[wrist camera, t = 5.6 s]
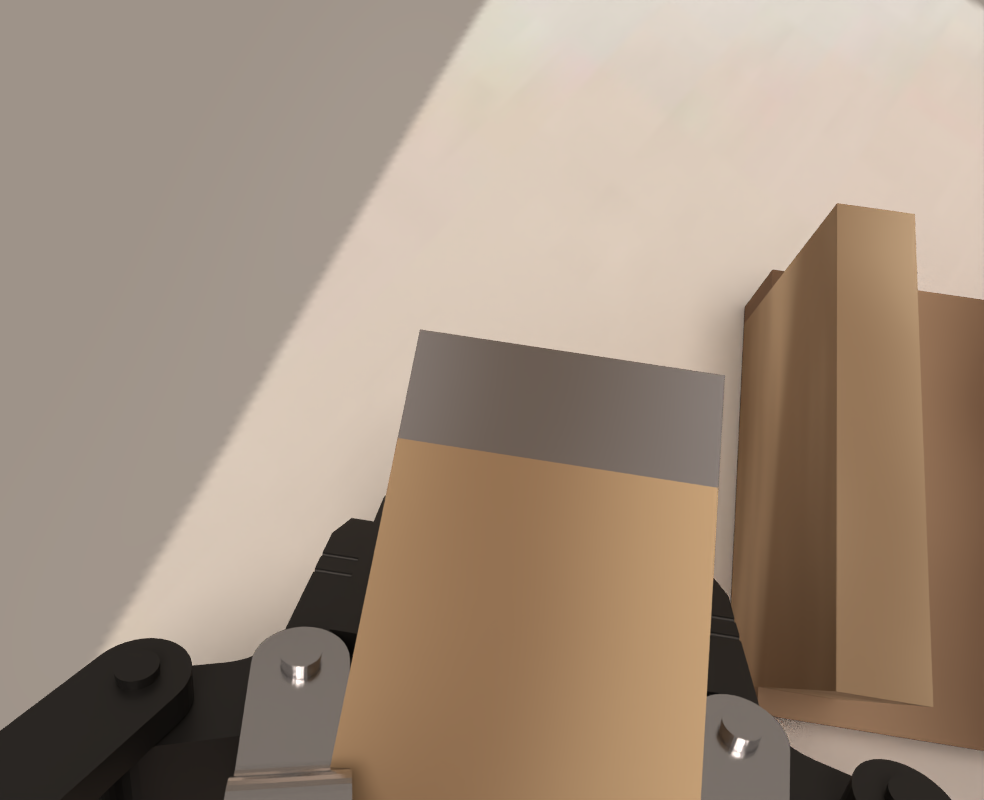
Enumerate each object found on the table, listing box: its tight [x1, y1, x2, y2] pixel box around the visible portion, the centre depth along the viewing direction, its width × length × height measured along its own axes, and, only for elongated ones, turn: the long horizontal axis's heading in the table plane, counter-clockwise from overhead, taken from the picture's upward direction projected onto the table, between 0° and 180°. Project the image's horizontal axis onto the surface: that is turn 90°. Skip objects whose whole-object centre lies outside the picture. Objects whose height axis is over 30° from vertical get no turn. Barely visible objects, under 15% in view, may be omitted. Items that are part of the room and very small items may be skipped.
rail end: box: [330, 330, 725, 800], centre depth 13 cm, size 4×6×9 cm, turn 171°
